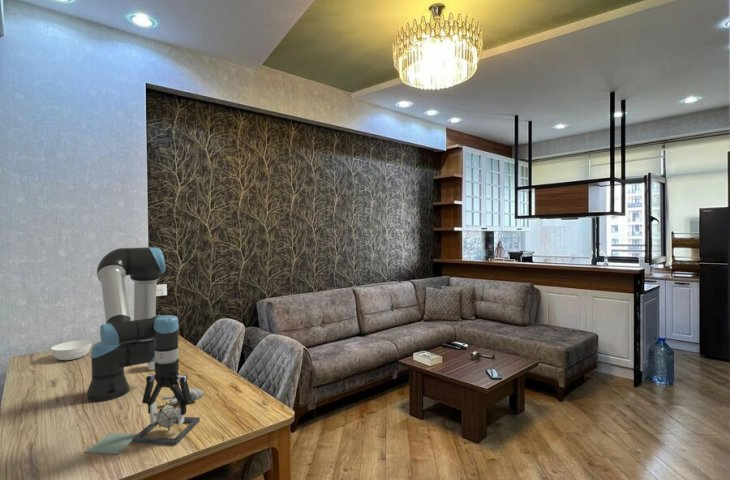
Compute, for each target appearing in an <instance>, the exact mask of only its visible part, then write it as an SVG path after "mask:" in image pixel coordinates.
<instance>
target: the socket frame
mask: <svg viewBox="0 0 730 480" xmlns="http://www.w3.org/2000/svg"><path fill="white" fill-rule="evenodd" d="M200 421H201V419H200V417H198V416H184V422H183V423H186V424H187V423H188V425H187V426H186V427H185V428H184V429H183V430H182V431H181V432H180V433H179V434H178V435H177V436H176V437H157V436H156V437H154V436H152V437H151V436H150V437H148V436H146V435H147V434H149V432H151V431H152V430H153V429H154V428H156V426H158V424H157V421H156V422H154V423H153V424H148V425H147V426H146V427H145V428H143V429H142V430H141V431H140V432H138V433H136V434H137V435H136V436H135V437H133V438H132V443H131V444H144V445H145V444H146V445H170V446H171V445H175V446H177V445H178V444H179V443H180V442H181V441H182V440H183V439H184V438H185V437H186V436H187V435H188V434H189V433H190V432H191V431H192V430H194V428H195V427H196V426H197V424H199V423H200ZM176 423H178V420H177V421H176ZM183 423H182V424H183ZM155 424H157V425H155Z"/></svg>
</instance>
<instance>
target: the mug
mask: <svg viewBox="0 0 730 480" xmlns="http://www.w3.org/2000/svg"><path fill="white" fill-rule="evenodd" d="M155 362H156V361H153V362H150V363H147V368H148V369H147V370H148V371H151V372H153V371H154V372H155Z"/></svg>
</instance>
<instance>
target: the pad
mask: <svg viewBox="0 0 730 480" xmlns="http://www.w3.org/2000/svg"><path fill="white" fill-rule="evenodd" d="M137 434H138V433H118V432H117V433H115V432H113V433H112V432H110V433H108V435H106V436H104V437H103V438H102V439H100V440H99V441H98V442H96V443H95V444H93V445H92V446H90V447H89V448H88V449H87V450H85V451H84V453H85V454H105V455H108V454H109V455H118V454H120V453H121V452H122V451H124V450H125V449H126V448H127V447H128V446H130V445H131V444H133V443H132V438H133V437H135V436H136V435H137Z"/></svg>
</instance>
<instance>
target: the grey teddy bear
mask: <svg viewBox="0 0 730 480" xmlns="http://www.w3.org/2000/svg"><path fill="white" fill-rule="evenodd" d="M181 391H182V390H181ZM189 391H190V395H191V399H192V401H191V402H193V401H197V400H198V401H199V400H200V399H201V398H202V397H203V396H204V395H205V391H204V390H202V389H200V388H197V387H191V388H189ZM166 400H168V403H169V404H168V405H175V404H176V403H178V401H177V399H176V397H175V395H174V394H172V395H164V396H162V401H166Z"/></svg>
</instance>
